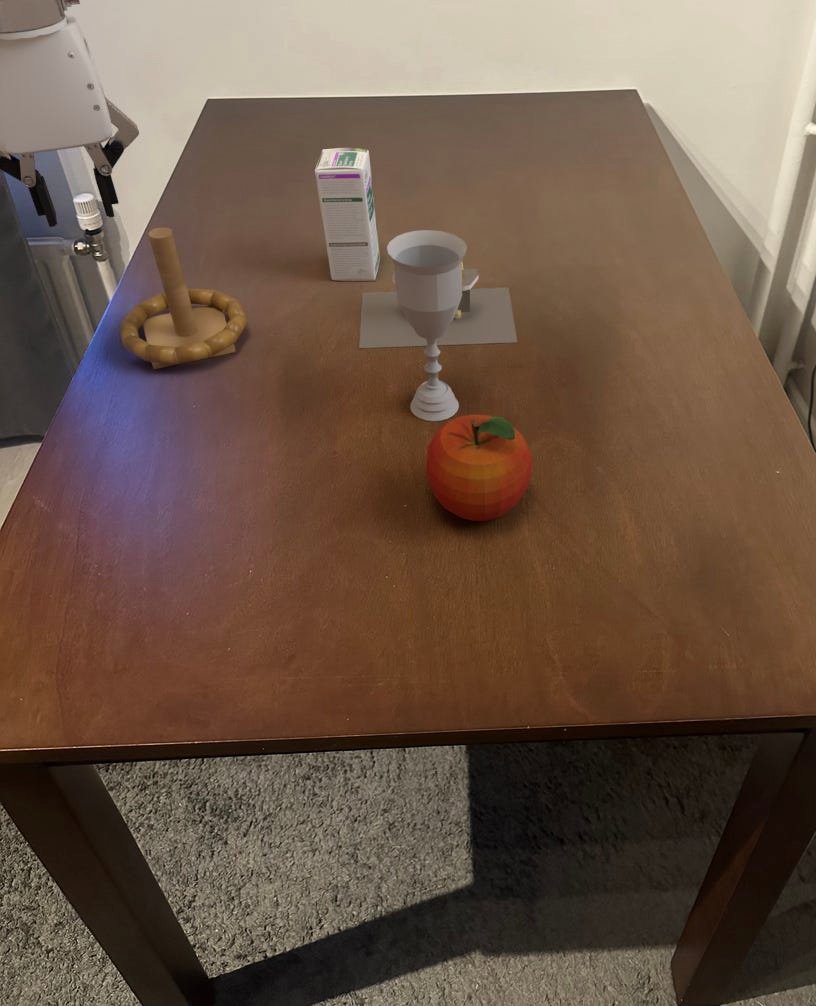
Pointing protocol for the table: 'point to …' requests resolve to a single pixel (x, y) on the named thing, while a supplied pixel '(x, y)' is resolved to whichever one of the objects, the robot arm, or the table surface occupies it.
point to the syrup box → (348, 213)
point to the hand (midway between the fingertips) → (81, 214)
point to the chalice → (429, 305)
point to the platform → (474, 323)
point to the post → (179, 304)
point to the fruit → (478, 466)
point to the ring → (191, 350)
